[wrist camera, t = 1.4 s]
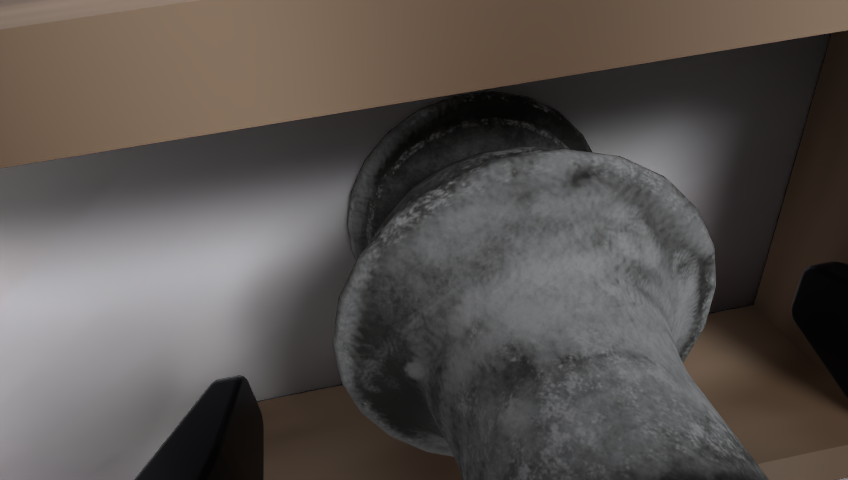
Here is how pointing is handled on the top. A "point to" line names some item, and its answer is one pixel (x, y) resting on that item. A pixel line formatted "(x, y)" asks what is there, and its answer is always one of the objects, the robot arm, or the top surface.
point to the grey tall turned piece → (529, 302)
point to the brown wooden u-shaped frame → (428, 78)
